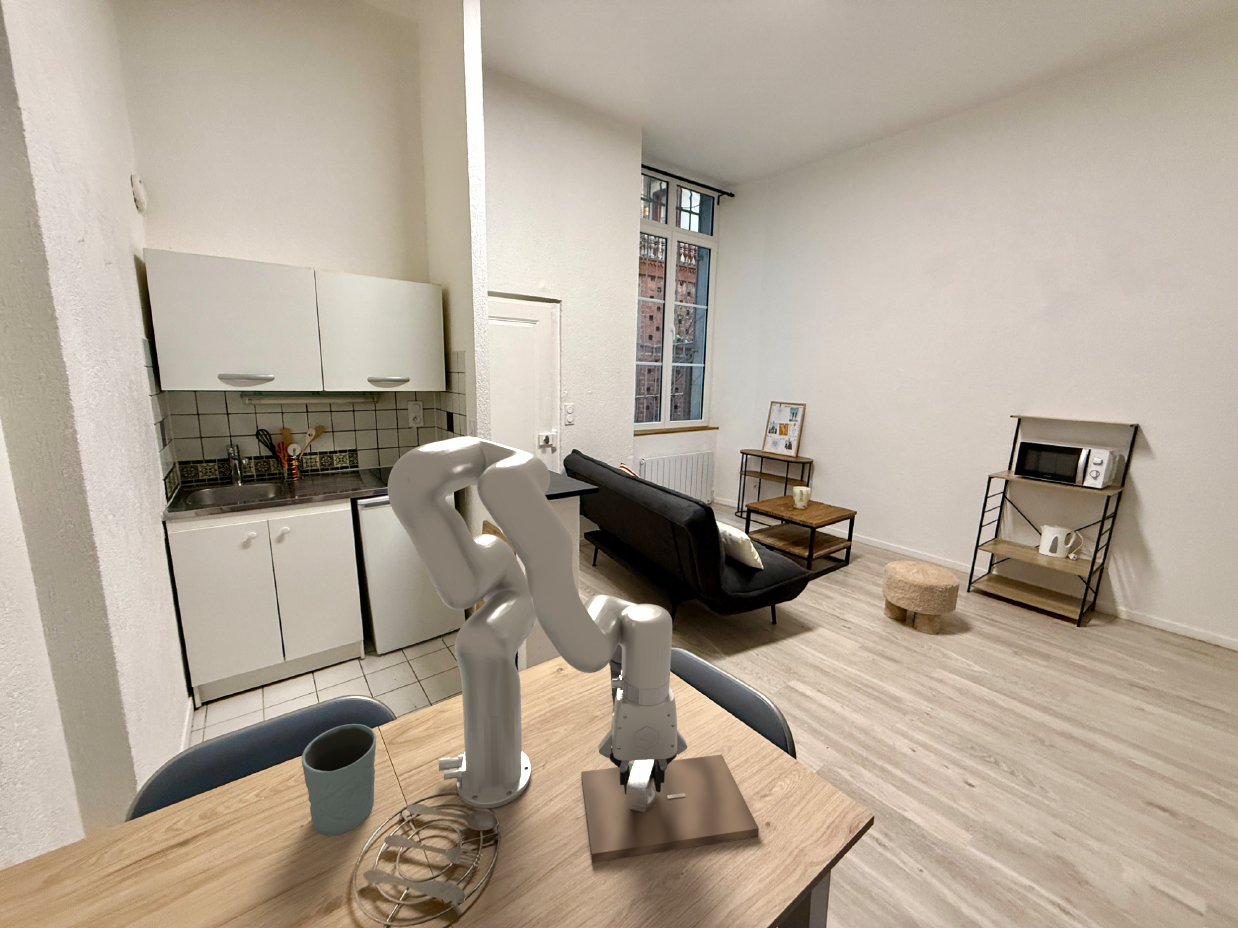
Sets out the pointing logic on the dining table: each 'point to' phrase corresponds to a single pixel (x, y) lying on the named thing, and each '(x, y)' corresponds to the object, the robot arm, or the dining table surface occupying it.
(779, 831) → the dining table surface
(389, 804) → the dining table surface
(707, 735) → the dining table surface
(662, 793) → the board
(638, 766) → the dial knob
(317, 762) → the blue-grey open cylinder
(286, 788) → the dining table surface
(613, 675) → the beverage cup
